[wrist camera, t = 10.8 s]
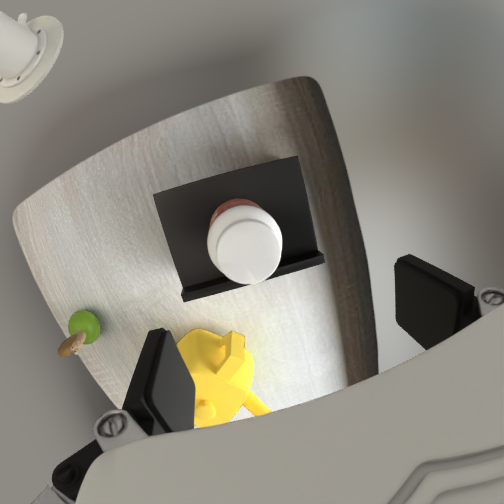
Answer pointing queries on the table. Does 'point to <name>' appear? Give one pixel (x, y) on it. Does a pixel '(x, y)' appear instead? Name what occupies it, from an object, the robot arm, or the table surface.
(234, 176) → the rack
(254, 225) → the pill bottle
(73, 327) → the snail figurine
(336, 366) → the table surface
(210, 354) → the teapot
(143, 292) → the table surface
